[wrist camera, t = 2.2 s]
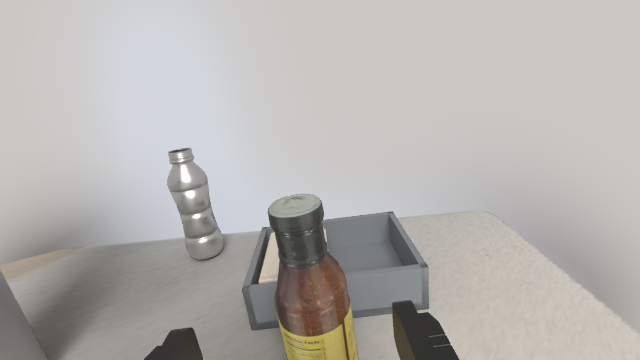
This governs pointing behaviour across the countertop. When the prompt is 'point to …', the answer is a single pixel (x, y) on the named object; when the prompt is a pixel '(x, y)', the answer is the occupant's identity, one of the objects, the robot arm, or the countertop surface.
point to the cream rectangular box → (273, 261)
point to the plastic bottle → (194, 205)
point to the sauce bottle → (310, 284)
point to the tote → (353, 268)
